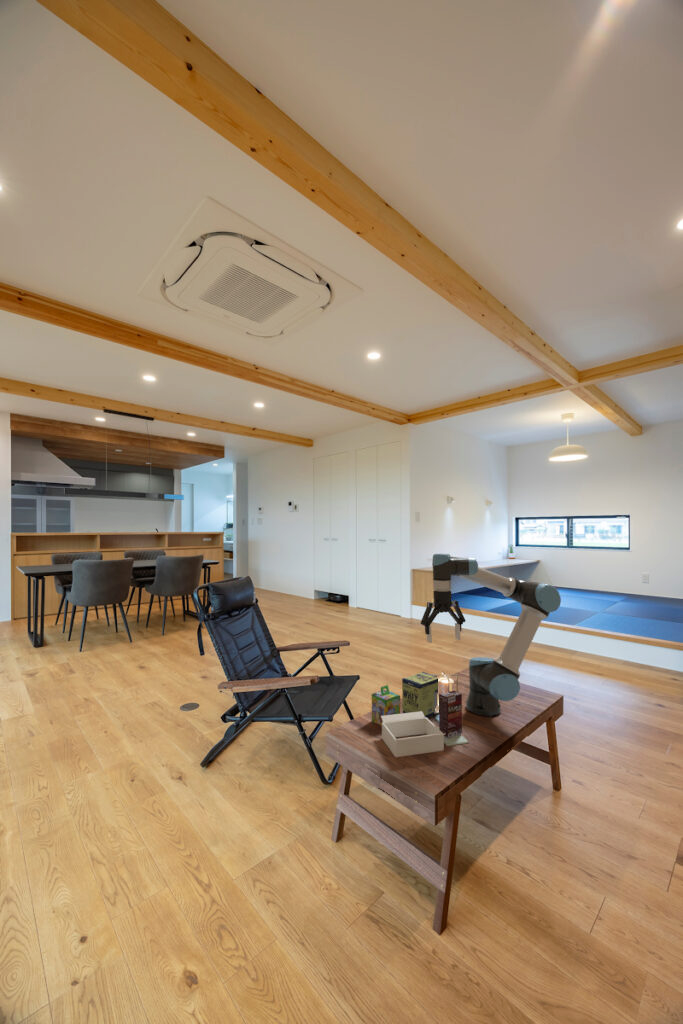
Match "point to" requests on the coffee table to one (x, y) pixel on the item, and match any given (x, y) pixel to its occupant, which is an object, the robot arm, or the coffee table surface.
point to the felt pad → (455, 740)
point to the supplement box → (450, 714)
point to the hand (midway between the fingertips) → (443, 640)
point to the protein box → (420, 693)
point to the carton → (411, 726)
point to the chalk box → (384, 704)
